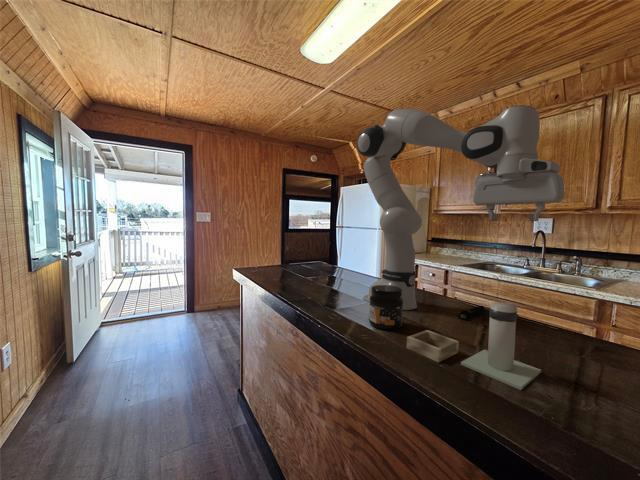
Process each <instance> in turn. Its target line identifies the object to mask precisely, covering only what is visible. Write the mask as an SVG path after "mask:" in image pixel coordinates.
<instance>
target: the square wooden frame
mask: <svg viewBox="0 0 640 480" xmlns="http://www.w3.org/2000/svg"><path fill="white" fill-rule="evenodd" d="M459 343H460V341H458V340H456V339H453V338H451V337H448V336H445V335H442V334H441V333H440V334H439V333H437V332H434V331H431V330H428V329H426V330H422V331H420V332H417V333H414V334H412V335H409V336H406V349H407V350H410V351H413V352H414V353H417V354H418V355H421V356H423V357H424V358H425V357H426V358H427V359H430V360H432V361H434V362H436V363H440V362H442V361H444V360H446V359H448V358H450V357H452V356H454V355H456V354H458V353H459Z"/></svg>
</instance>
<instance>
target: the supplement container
mask: <svg viewBox="0 0 640 480" xmlns="http://www.w3.org/2000/svg"><path fill="white" fill-rule="evenodd" d="M371 293H372V295H371V296H370V302H369V317H368V321H369V324H370V325H371V326H372V327H374V328H376V329H379V330H384V331H393V330H394V331H395V330H398V329H400V328H401V327H402V326H403V311H404V310H403V299H402V298H401V296H402V289H401V288H398V287H395V286H389V285H376V286H373V287H372V290H371Z"/></svg>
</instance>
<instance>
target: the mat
mask: <svg viewBox="0 0 640 480" xmlns="http://www.w3.org/2000/svg"><path fill="white" fill-rule="evenodd" d="M487 361H488V349H483V350H481V351H479V352H477V353H475V354H473V355H472V356H470V357H468V358H465V359H464V360H462V361H460V365H461V366H463V367H466V368H468V369H470V370H473V371H475V372H477V373H480V374H482V375H484V376H487V377H490V378H491V379H493V380H495V381H499V382H501V383H504V384H506V385H507V386H510V387H513V388H515V389H517V390H519V391H521V390H524V388H525V387H526V386H527V385H528V384H530V383H531V382H532V381H533V380H534V379H535V378H536V377H537V376H539V375H540V374H541V373H542V369H540V368H537V367H535V366H532V365H530V364H529V365H528V364H526V363H524V362H521V361H518V360H515V359H514V367H513V370H512V371H502V370H498V369H495V368H493V367H491V366H490V365H488V363H487Z"/></svg>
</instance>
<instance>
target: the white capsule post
mask: <svg viewBox="0 0 640 480" xmlns="http://www.w3.org/2000/svg"><path fill="white" fill-rule="evenodd" d="M517 310H518V309H517V305H514V304H511V303H507V302H498V301H492V302H490V306H489V313H488V314H489V323H488V325H489V326H488V347H487V351H488V361H487V363H488V365H490V366H491V367H493V368H495V369H498V370H502V371H512V370H513V367H514V360H515V350H516V349H515V347H516V344H515V343H516V329H517V328H516V327H517V321H518V319H517V318H518V311H517Z"/></svg>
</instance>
